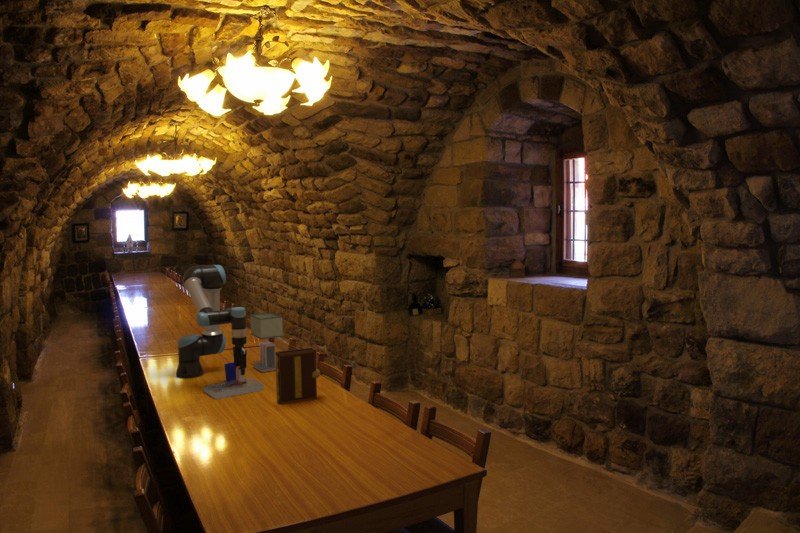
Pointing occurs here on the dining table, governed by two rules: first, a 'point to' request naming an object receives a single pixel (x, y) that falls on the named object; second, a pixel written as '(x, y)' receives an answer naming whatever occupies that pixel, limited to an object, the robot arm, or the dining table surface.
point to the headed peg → (238, 376)
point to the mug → (230, 371)
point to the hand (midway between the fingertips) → (240, 379)
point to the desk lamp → (264, 329)
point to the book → (296, 375)
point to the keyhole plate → (233, 388)
